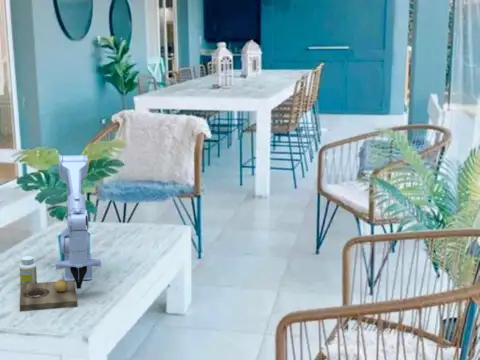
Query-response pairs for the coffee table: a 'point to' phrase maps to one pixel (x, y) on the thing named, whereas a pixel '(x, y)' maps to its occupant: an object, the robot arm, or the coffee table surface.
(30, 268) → the supplement bottle
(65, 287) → the ball
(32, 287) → the wooden board with hole
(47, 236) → the coffee table surface
